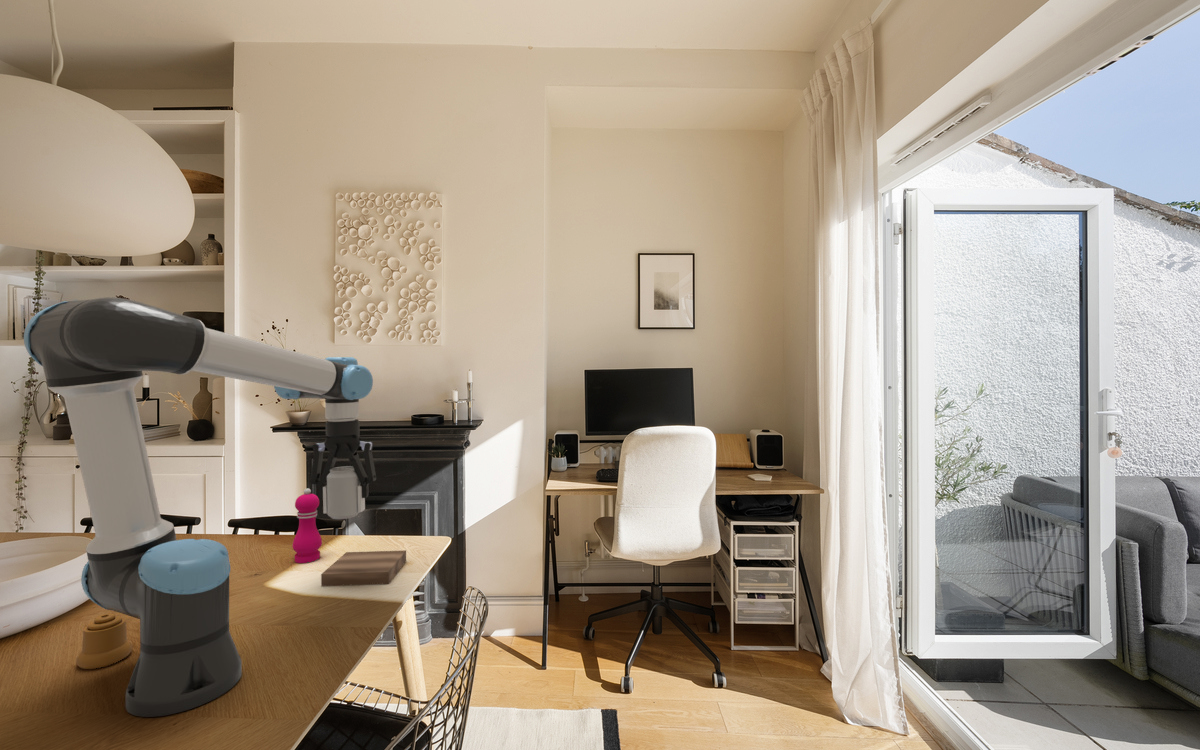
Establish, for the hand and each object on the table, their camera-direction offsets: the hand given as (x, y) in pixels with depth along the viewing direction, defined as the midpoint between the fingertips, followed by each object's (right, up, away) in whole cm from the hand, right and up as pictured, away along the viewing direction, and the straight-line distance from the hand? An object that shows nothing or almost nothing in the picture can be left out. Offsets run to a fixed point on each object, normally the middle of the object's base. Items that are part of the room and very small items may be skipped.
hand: (344, 511), depth 132 cm
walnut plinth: (+2, -18, +7) cm, 20 cm away
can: (0, -1, 0) cm, 1 cm away
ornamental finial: (-27, -18, -35) cm, 48 cm away
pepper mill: (-19, -18, +17) cm, 31 cm away
